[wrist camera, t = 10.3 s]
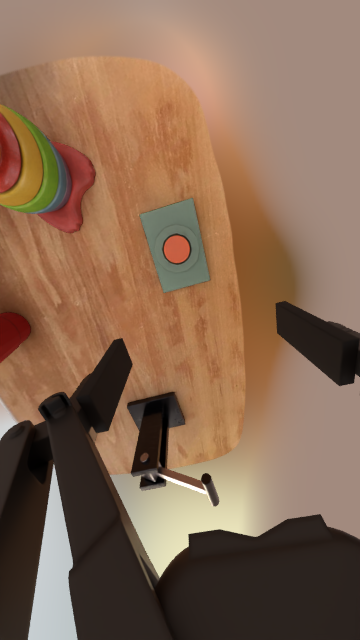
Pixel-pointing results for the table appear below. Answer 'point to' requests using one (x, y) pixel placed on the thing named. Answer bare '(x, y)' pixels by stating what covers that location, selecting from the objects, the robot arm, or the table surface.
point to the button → (176, 249)
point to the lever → (188, 482)
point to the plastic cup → (12, 333)
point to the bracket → (153, 435)
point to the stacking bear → (41, 173)
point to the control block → (173, 223)
